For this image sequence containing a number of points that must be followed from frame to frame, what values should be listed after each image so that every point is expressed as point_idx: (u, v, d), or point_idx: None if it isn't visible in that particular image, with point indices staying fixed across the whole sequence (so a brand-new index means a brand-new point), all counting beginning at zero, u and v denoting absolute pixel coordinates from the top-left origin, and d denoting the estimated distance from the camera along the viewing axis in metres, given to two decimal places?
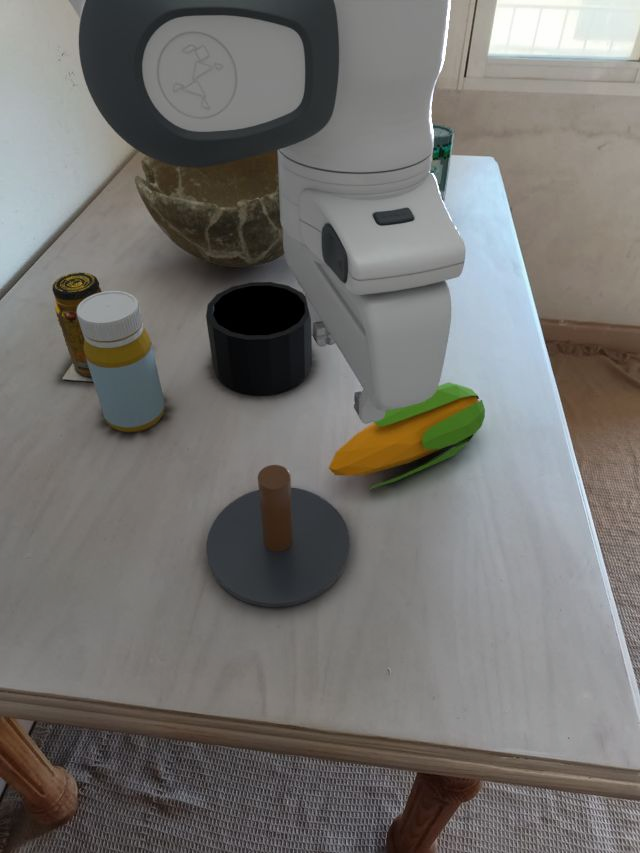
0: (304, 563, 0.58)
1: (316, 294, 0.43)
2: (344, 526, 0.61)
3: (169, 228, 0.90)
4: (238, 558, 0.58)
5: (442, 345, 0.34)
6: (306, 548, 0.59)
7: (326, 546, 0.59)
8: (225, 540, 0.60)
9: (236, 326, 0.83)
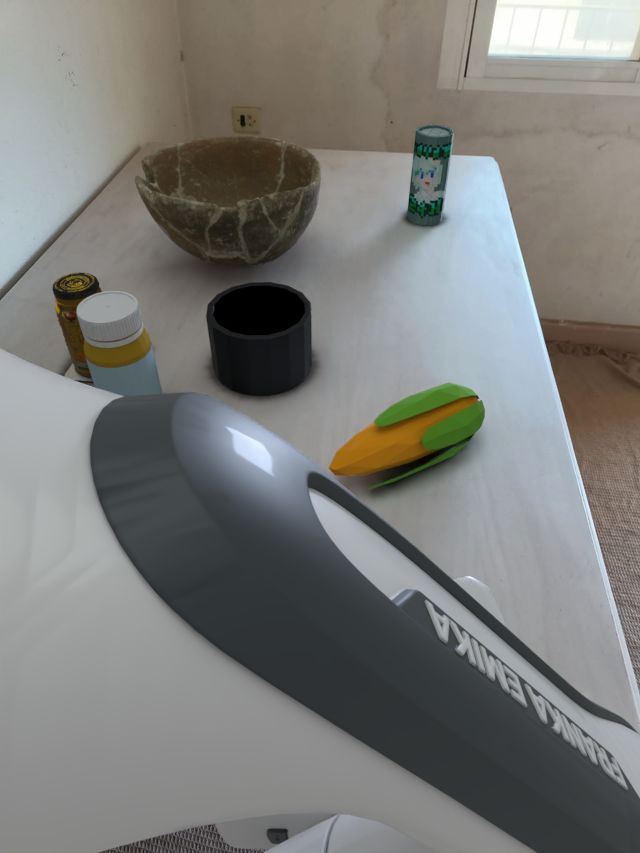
0: None
1: None
2: None
3: (169, 228, 0.90)
4: None
5: None
6: None
7: None
8: None
9: (236, 326, 0.83)
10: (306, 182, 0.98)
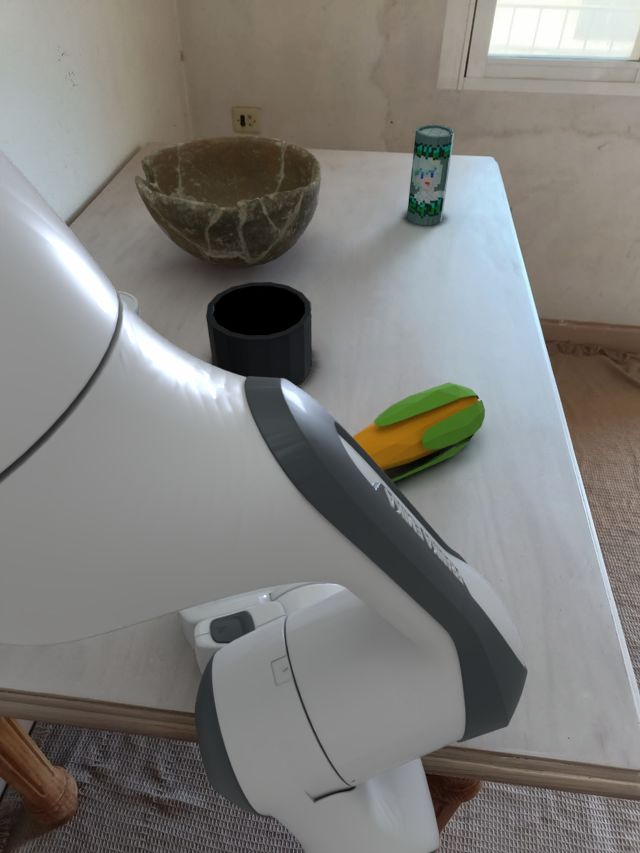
0: None
1: None
2: None
3: (169, 228, 0.90)
4: None
5: (180, 623, 0.50)
6: None
7: None
8: None
9: (236, 326, 0.83)
10: (306, 182, 0.98)
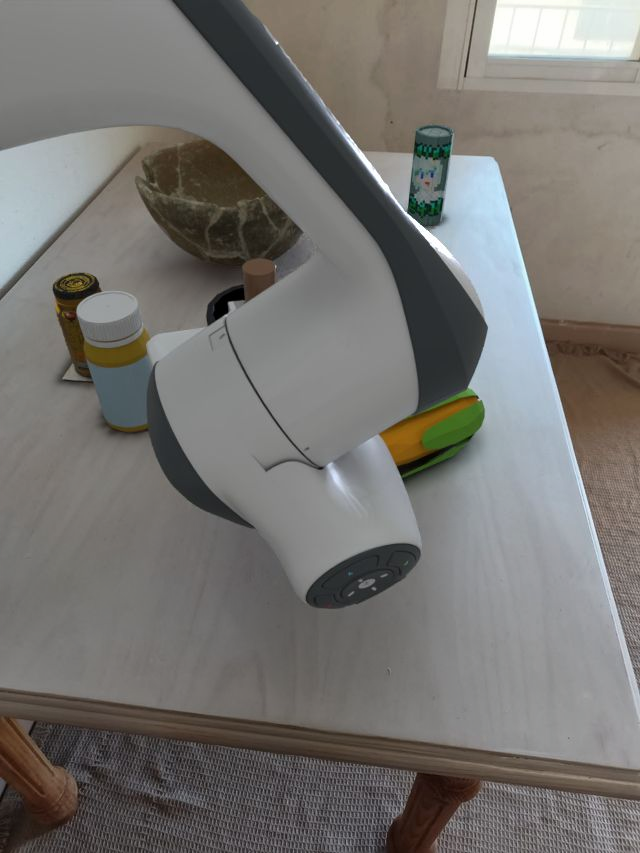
0: None
1: None
2: None
3: (169, 228, 0.90)
4: None
5: None
6: None
7: None
8: None
9: None
10: None
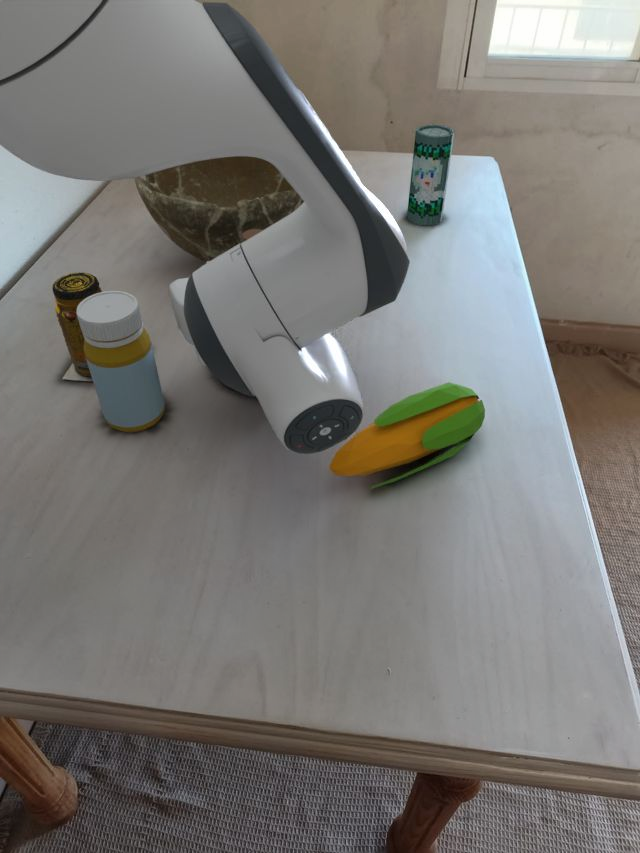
0: None
1: None
2: None
3: (169, 228, 0.90)
4: None
5: (180, 329, 0.65)
6: None
7: None
8: None
9: None
10: None
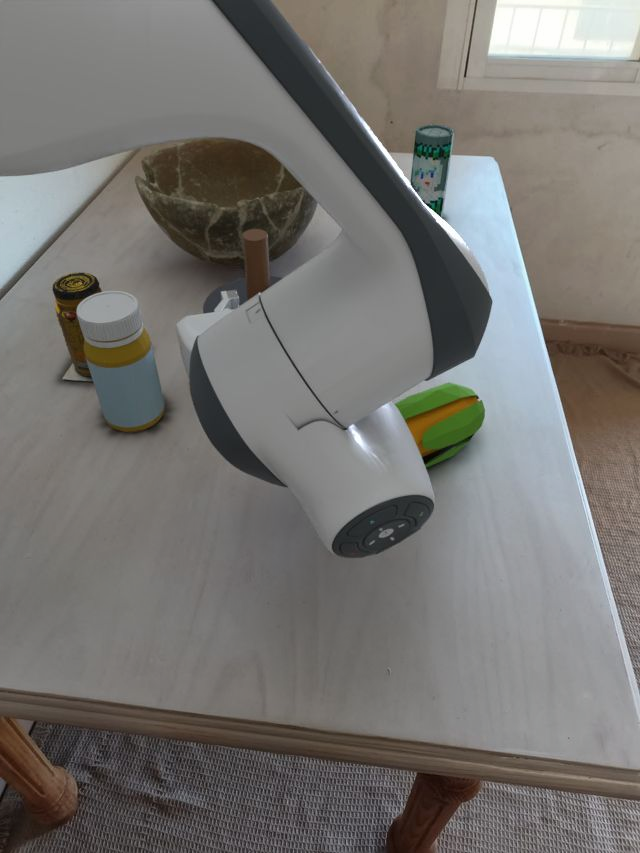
0: None
1: None
2: None
3: (169, 228, 0.90)
4: None
5: None
6: None
7: None
8: None
9: None
10: None
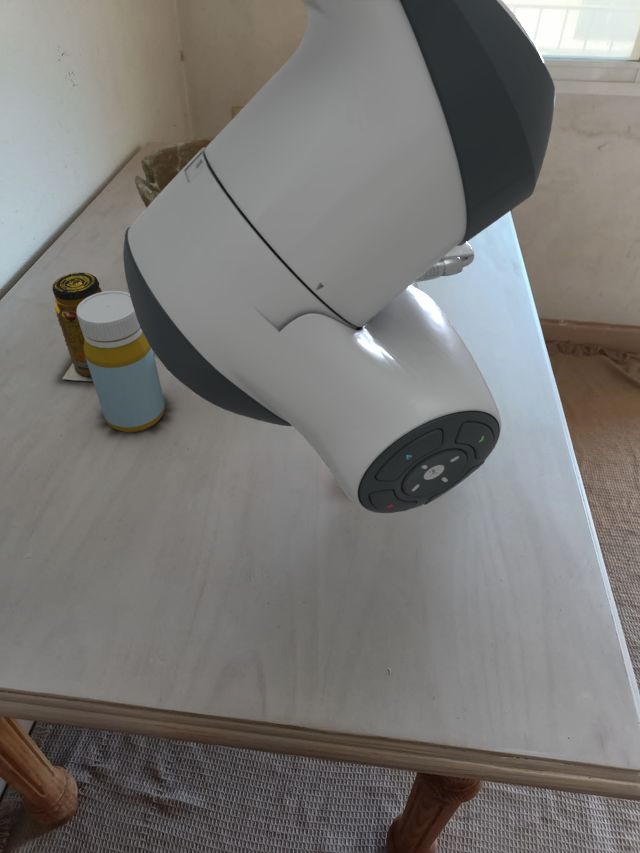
0: None
1: None
2: None
3: None
4: None
5: None
6: None
7: None
8: None
9: None
10: None
